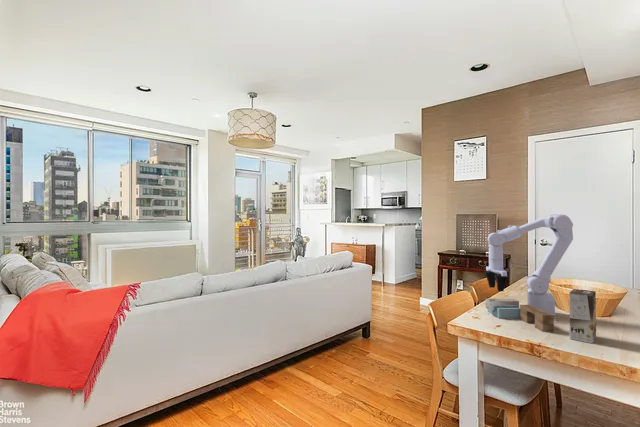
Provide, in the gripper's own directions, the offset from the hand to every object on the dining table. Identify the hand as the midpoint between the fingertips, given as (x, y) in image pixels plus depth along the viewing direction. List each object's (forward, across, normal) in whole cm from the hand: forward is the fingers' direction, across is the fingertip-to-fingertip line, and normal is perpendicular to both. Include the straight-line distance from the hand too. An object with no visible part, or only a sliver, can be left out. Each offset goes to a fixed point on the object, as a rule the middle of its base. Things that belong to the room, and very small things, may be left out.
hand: (496, 289), depth 146 cm
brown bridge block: (+9, +20, +5) cm, 23 cm away
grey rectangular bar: (+5, +7, -1) cm, 9 cm away
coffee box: (+10, +33, +13) cm, 37 cm away
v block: (+9, +7, 0) cm, 12 cm away
